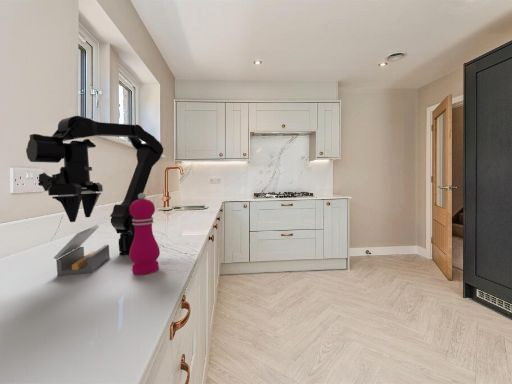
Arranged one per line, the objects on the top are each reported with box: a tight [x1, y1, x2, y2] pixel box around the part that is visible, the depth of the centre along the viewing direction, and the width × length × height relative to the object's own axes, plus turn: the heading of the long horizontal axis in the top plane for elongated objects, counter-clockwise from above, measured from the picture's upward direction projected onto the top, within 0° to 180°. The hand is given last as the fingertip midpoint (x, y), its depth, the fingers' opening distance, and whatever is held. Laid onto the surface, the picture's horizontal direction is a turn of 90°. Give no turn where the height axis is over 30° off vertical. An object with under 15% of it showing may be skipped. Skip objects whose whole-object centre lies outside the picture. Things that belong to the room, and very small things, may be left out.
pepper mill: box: [128, 192, 161, 276], centre depth 70 cm, size 7×7×20 cm
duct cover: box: [53, 224, 100, 260], centre depth 76 cm, size 8×14×1 cm
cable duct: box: [55, 244, 111, 276], centre depth 77 cm, size 8×14×4 cm, turn 12°
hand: (80, 219), depth 76 cm, fingers open, 9 cm apart
